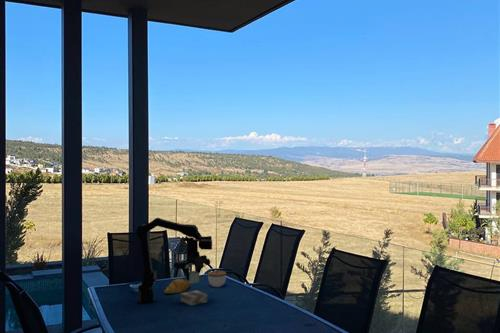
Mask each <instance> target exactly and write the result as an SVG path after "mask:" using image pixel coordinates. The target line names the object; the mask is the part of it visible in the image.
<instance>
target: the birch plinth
mask: <svg viewBox="0 0 500 333" xmlns="http://www.w3.org/2000/svg"><path fill="white" fill-rule="evenodd" d="M180 302H182V303H185V304H186V305H189V306H195V305H200V304H205V303H208V293H206V292H203V291H200V290H191V291H187V292H186V291H184V292H180Z"/></svg>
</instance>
